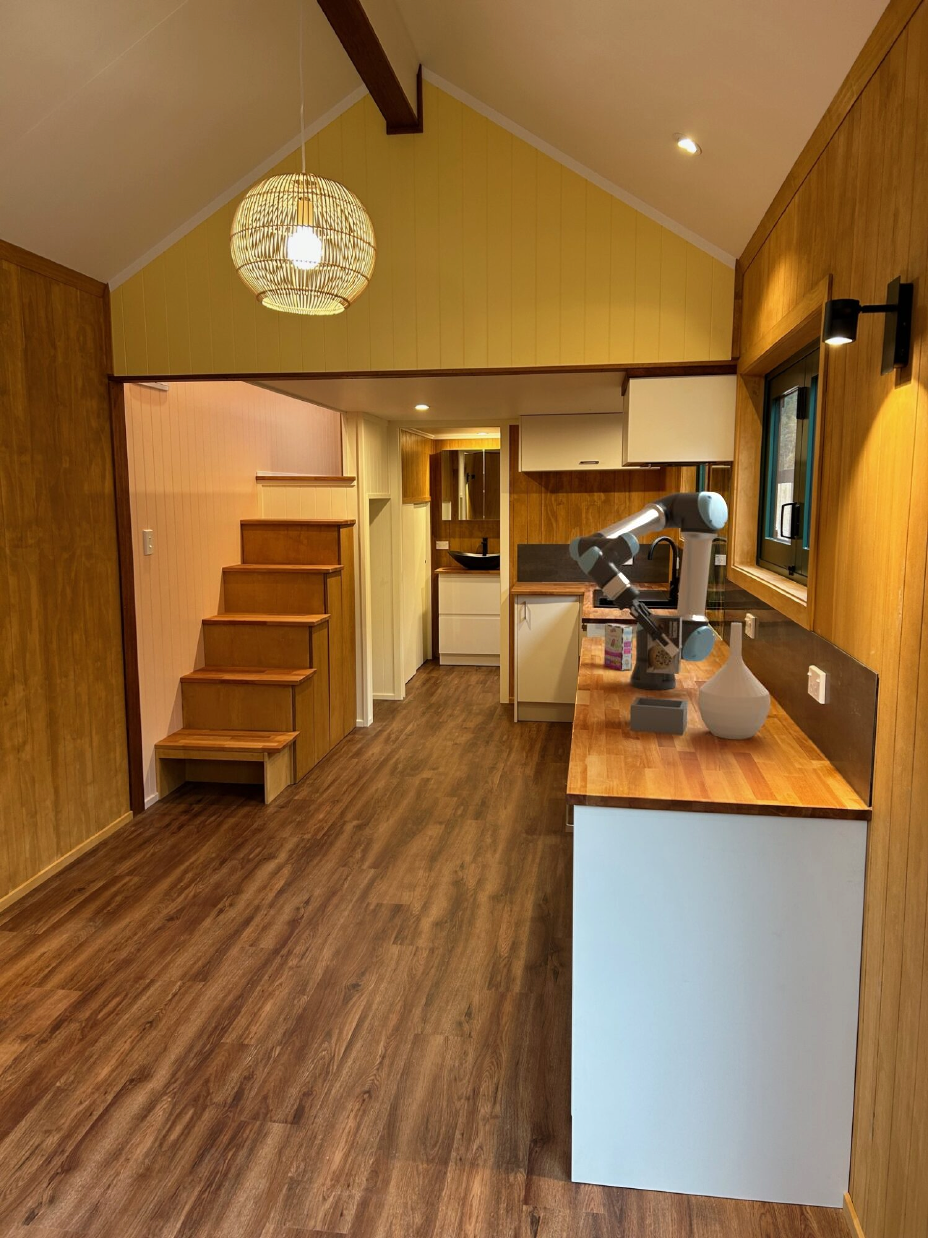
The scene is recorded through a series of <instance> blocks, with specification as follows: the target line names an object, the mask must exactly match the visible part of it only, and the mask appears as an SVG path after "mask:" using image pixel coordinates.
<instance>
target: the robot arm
mask: <svg viewBox="0 0 928 1238" xmlns="http://www.w3.org/2000/svg"><path fill="white" fill-rule="evenodd" d="M726 503H727V502H726V501H725V500H724V498H723V497H722V496H721V494H719V493H717V492H710V491H697V492H696V491H694V492H692V491H691V492H689V491H688V492H682V491H681V492H674V493H671V494H668V495H665V496H662V497H660V498H657V499H655V500H654V501H651V502H649V503H647V504H646V505H644V507H643V508H642V510H640V511H637V512H636V513H634V514H632V515H629V516H627V517H626V518H623V519H621V520H620V521H619V520H618V521H617V522H615V523H613V524H610V525H609V526H607V527H604V528H602V529H601V530H599V531H597V532H594V533H592V534H590V535H588V536H582V535H581V536H577V537H575V538H573V539H572V540H571V542H570V544H569V547H568V550H569V555H570V557H571V558H572V559H573V560H574V561H576V562H577V563H578V566H579V567H580V569H581V570H582V571H583V572H584V574H585V575H586V576H587V577H588V578H590V580H591V581H592V582H594V584H595V585H596V586H597V587H599V589H600V590H601V592H603V593H602V594H603V596H604V597H606V596H607V598H608V599H609V600H613V601H612V603H613V604H614V605H615V606H616V607H617V608H618V610H619V611H623V610H624V609H627V608H628V611H629V615H630V616H631V617H632V618H633V619H634V620H635V621H636V622H637V623H636V631H635V633H636V635H635V636H636V640H635V641H636V644H635V649H636V650H635V664H634V667H633V670H632V673H631V675H630V678H629V679H630V686H632V687H634V688H638V689H644V690H654V691H655V690H657V691H658V690H662V691H663V690H670V689H675V688H676V686H677V678H676V676H675V675H676V674H668V673H650V672H647V651H648V634H649V635H650V636H651V638H652V641H655V640H656V641H657V642H658V643H659V644H660V645H661V646H662V647H663V648H664V649H665V650H666V651H667V652H668V654H669V655H670V656H671V657H673V656H674V655H675V654H676V653H677V652H679V649H678V648H677V647H676V646H675V645H674V644H673V643H672V642H671V641H670V640H669V639H668V638H667V637H666V636H665V634H664V633H663V634H662V632H660V630H659V629H658V628H657V627H656V626H655V625H654V623H653V622H652V621H651V620H650V619H649V618H648V617H649V616H650V615H651V614H654V613H653V612H652V611H651V609H649V608H648V606H646V605H645V603H643V602H639V601H638V600H637V598H638V597H639V596H640V594H641V592H640V591H639V590H638V589H637V588H636V587H635V586H634V584H631V581H630V580H629V579H628V578H627V577H626V576H625V575H624V573H622V572H621V571H620V568H621V567H622V566H623V565H625V564H626V563H628V562H629V561H631V560H632V559H633V558H634V556H636V555H637V554H638V552H639V550H640V544H639V541H638V539H639V538H642V537H643V536H645V535H647V534H649V533H652V532H654V533H655V532H656V533H657V532H661V531H663V530H666V529H680V531H679V534H680V535H681V536H682V537H683V540H684V541H683V548H682V549H683V550H682V560H681V570H680V580H679V588H678V589H679V590H678V591H679V592H678V599H677V600H678V601H677V611H676V613H675V614H674V615H681V616H682V638H681V661H686V662H697V663H698V662H703V661H704V660H706V659H708V657H709V656H710V655H711V653H712V651H713V648H714V646H715V642H716V637H715V636H716V635H715V633H714V630H713V629H712V628H711V627H710V626H709V619H708V618H707V616H705V613H706V604H707V603H706V602H707V593H708V583H709V574H710V563H711V555H712V553H711V552H712V544H713V540H714V539H716V538H717V537H718V533H719V530H721V529H722V528H724V526H725V524H726V523H727V520H728V517H729V515H728V506H727V504H726Z"/></svg>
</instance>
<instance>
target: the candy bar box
mask: <svg viewBox="0 0 928 1238" xmlns="http://www.w3.org/2000/svg"><path fill="white" fill-rule="evenodd" d="M633 628H634V626H632V625H631V626H630V625H626V624H621V623H616V622H615V623H614V622H613V623H612V622H611V623H605V624H604V655H603V656H604V661H603V664H604V665H603V667H605V666H606V668H609V667H610V668H609V669H612V668H614V669H613V670H617V671H620V670H621V672H624V670H626V671H631V670H632V667H633V665H632V664H633V663H632V662H633V636H634V635H633V634H634V633H633V631H634V630H633ZM632 671H633V670H632Z"/></svg>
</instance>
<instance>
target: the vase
mask: <svg viewBox="0 0 928 1238" xmlns="http://www.w3.org/2000/svg"><path fill="white" fill-rule="evenodd" d="M742 628H743V623H742V622H731V624H730V635H729V636H730V637H729V639H730V640H729V655H728V658H727V660H726V662H725V663H724V664H723V665H722V667H721V668H719V670H718V671H716V673H714V674H713V676H712V677H710V678H709V679H708V680H707V681H706V682H704V684H703V685H701V687H699V691H698V695H697V707H698V710H699V712H700V713H699V714H700V717H701V720H702V721H703V723H704V725H705V726H706V728H707V729H708V730H709V732H710V733H711V734H712V735H714V736H715V737H718V738H722V739H727V740H746V739H750V738H752V737H754V736H755V735H756V734H757V733H758V732H759V731H760V730H761V728H762V727H763V726H764V724H765V722H766V720H767V717H768V715H769V713H770V709H771V697H770V696H771V695H770V692H769V691H768V690H767V689H766V687H765V686H764V685H763V684H762V683H761V682H760V681H759V680H758V679H757V677H755V675H754V674H753V672H752V671H751V670H750V669H749V668H748V667H747V666H746V663H745V662H744V661H743V657H742V650H743V649H742V647H743V646H742V643H743V642H742V640H743V638H742V637H743V633H742V632H743V631H742V630H743V629H742Z"/></svg>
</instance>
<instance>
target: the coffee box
mask: <svg viewBox="0 0 928 1238" xmlns="http://www.w3.org/2000/svg"><path fill="white" fill-rule="evenodd" d="M648 618H649V619H650V620H651V621H652V622H653V623H654V625H655V626H656V627H657V628H658V629H659V630H660V632H662V634H663V633H664V634H665V636H666V637H667V638H668V639H669V640H670V641H671V642H672V643H673V644H674V645H675V646H676V647H677V648H678V649H679V652H677V653H676V654H675V655H674V656H673V657H671V656H670V655H669V654H668V652H667V651H666V650H665V649H664V648H663V647H662V646H661V645H660V644H659V643H658V642H657V641H656V640H655V641H652V638H651V636H650V635H649V634H648V651H647V672H650V673H668V674H674V675H680V673H681V669H682V660H681V638H682V616H681V615H675V614H673V615H672V614H654V613H653V614H651V615H650V616H649V617H648Z"/></svg>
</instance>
